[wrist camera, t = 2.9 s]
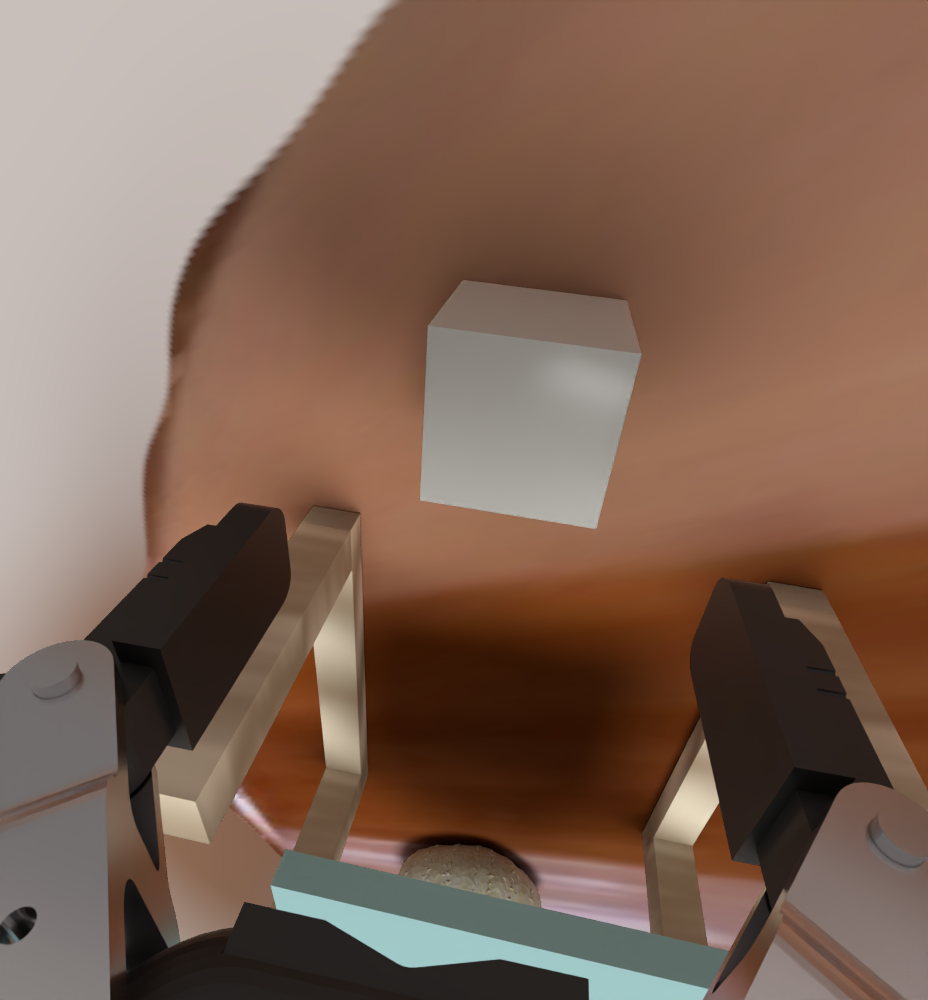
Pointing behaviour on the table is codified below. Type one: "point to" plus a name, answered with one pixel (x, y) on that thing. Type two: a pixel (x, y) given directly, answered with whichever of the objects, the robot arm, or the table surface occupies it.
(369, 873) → the trapdoor
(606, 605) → the table surface
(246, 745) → the frame
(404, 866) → the sea urchin shell
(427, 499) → the grey cube
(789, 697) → the robot arm
